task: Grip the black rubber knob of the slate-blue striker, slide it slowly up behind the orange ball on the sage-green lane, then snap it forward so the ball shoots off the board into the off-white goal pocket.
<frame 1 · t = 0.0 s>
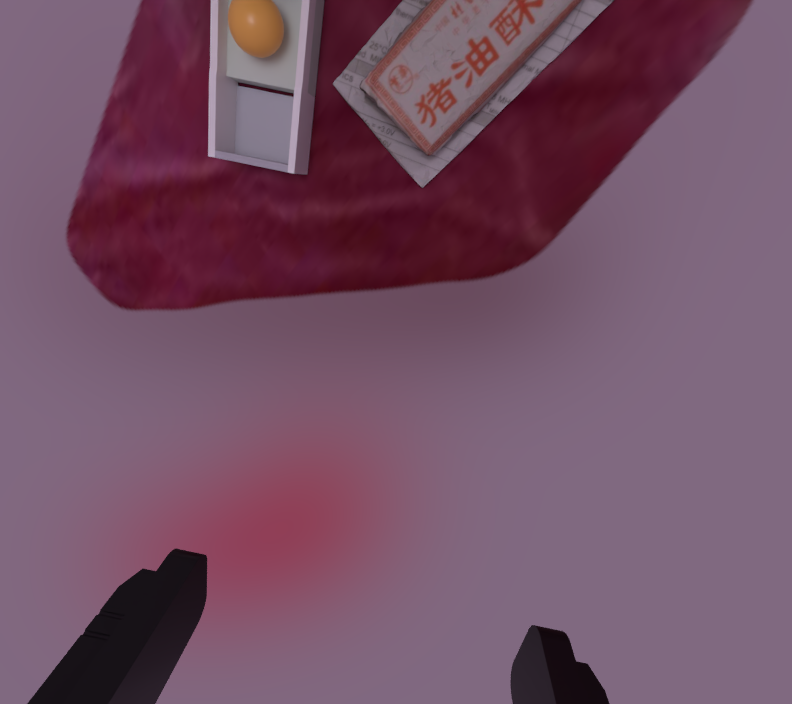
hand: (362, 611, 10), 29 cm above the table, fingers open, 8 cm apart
packaged product: (468, 46, 31), on the table
ball: (256, 25, 27), point 4 cm above the table, touching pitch
goal: (270, 129, 33), on the table
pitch: (277, 22, 30), on the table
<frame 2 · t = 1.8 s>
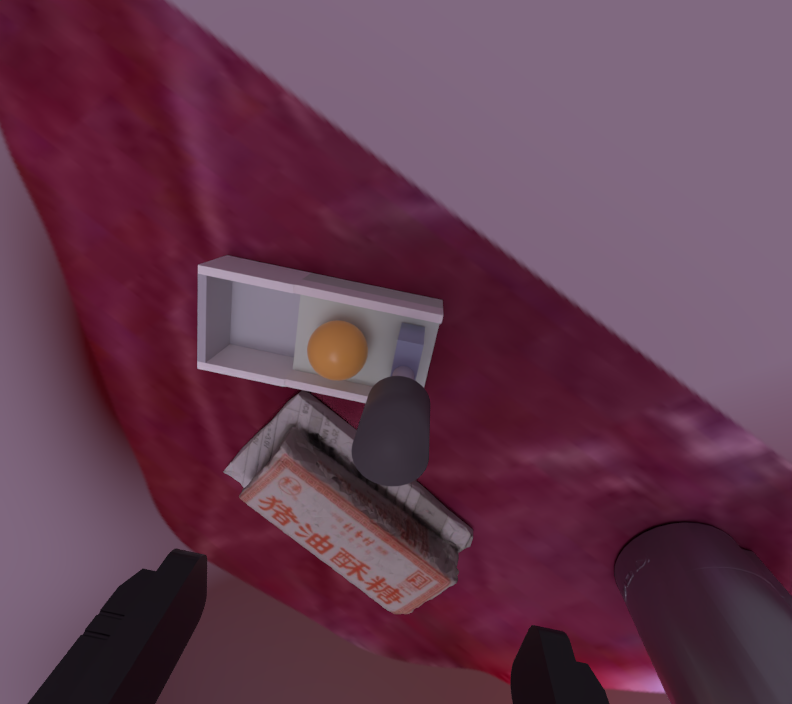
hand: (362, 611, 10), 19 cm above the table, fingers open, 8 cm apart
packaged product: (354, 492, 34), on the table
ball: (337, 350, 24), point 4 cm above the table, touching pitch
goal: (265, 312, 28), on the table
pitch: (368, 333, 28), on the table
striker: (400, 393, 21), point 7 cm above the table, slide at 0.0 cm
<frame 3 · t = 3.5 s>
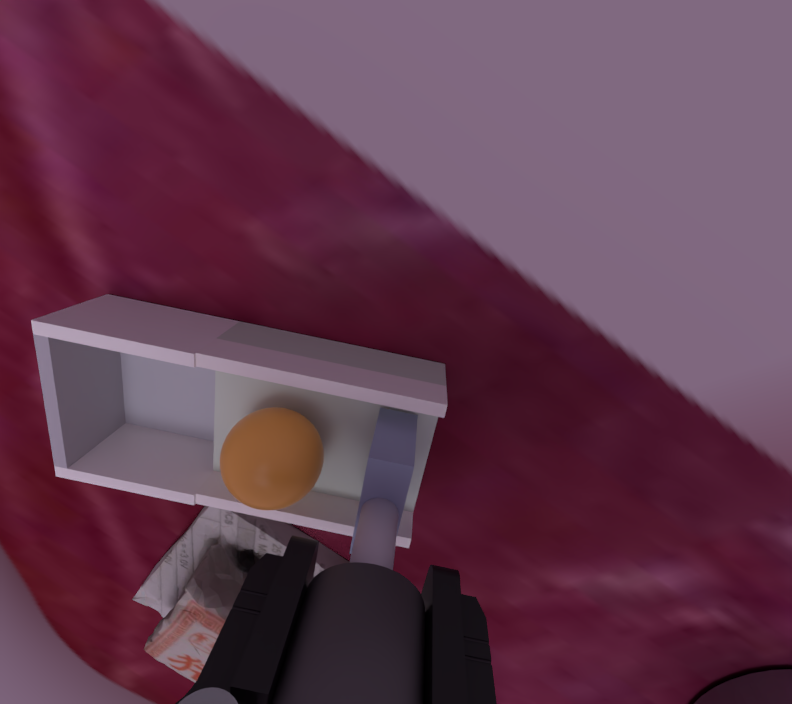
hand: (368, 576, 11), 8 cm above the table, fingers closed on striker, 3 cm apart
packaged product: (320, 610, 24), on the table
ball: (273, 457, 15), point 4 cm above the table, touching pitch
goal: (175, 378, 18), on the table
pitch: (332, 410, 18), on the table
striker: (370, 569, 11), point 7 cm above the table, slide at 0.0 cm, touching gripper
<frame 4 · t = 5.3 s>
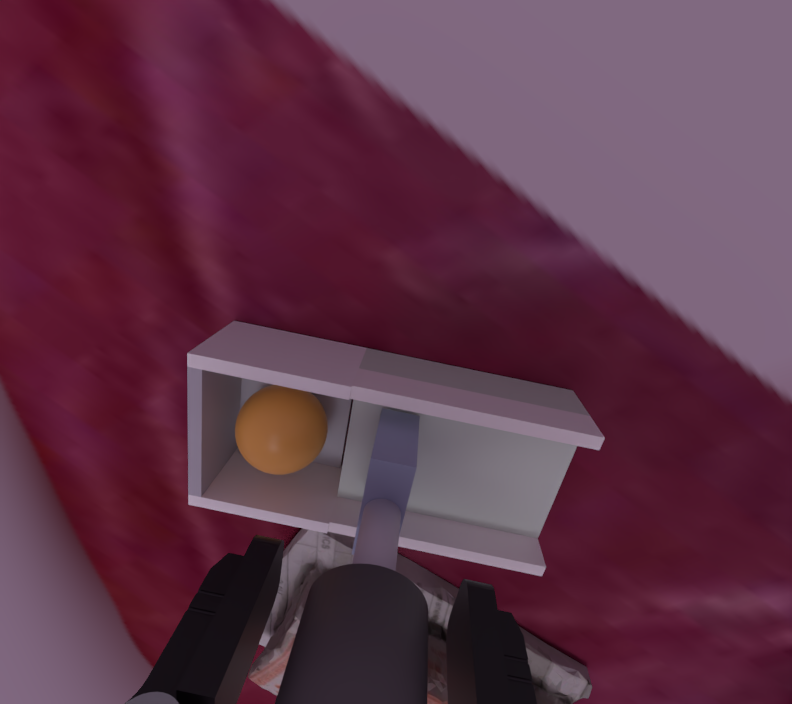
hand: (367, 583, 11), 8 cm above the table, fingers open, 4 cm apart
packaged product: (409, 628, 24), on the table
ball: (282, 428, 16), point 2 cm above the table, tilted 169°, touching goal
goal: (293, 403, 18), on the table
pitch: (450, 435, 18), on the table
striker: (373, 570, 11), point 7 cm above the table, slide at 5.2 cm
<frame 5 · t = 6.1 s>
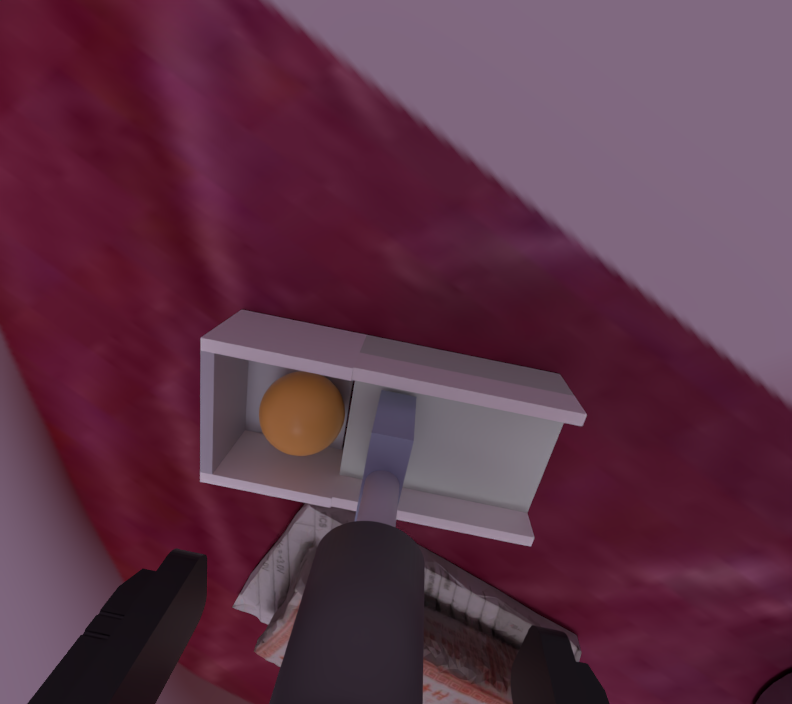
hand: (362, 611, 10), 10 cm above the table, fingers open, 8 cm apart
packaged product: (407, 604, 25), on the table
ball: (302, 413, 17), point 2 cm above the table, tilted 171°, touching goal
goal: (297, 387, 19), on the table
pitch: (446, 417, 19), on the table
striker: (374, 531, 12), point 7 cm above the table, slide at 5.2 cm
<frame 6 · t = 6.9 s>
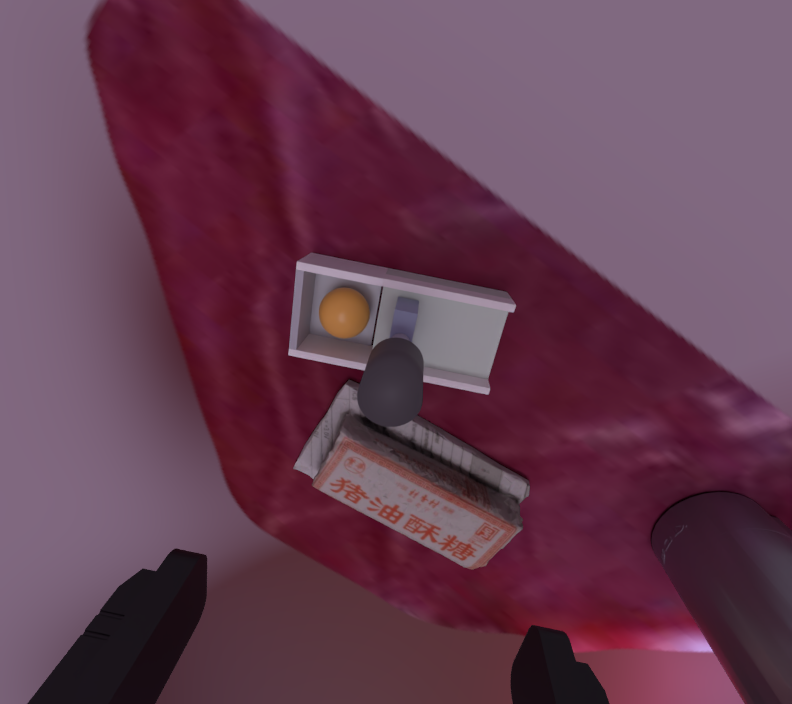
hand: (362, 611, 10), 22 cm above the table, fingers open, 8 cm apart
packaged product: (412, 466, 36), on the table
ball: (344, 313, 29), point 2 cm above the table, tilted 176°, touching goal
goal: (343, 304, 31), on the table
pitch: (437, 323, 31), on the table
striker: (397, 355, 24), point 7 cm above the table, slide at 5.2 cm
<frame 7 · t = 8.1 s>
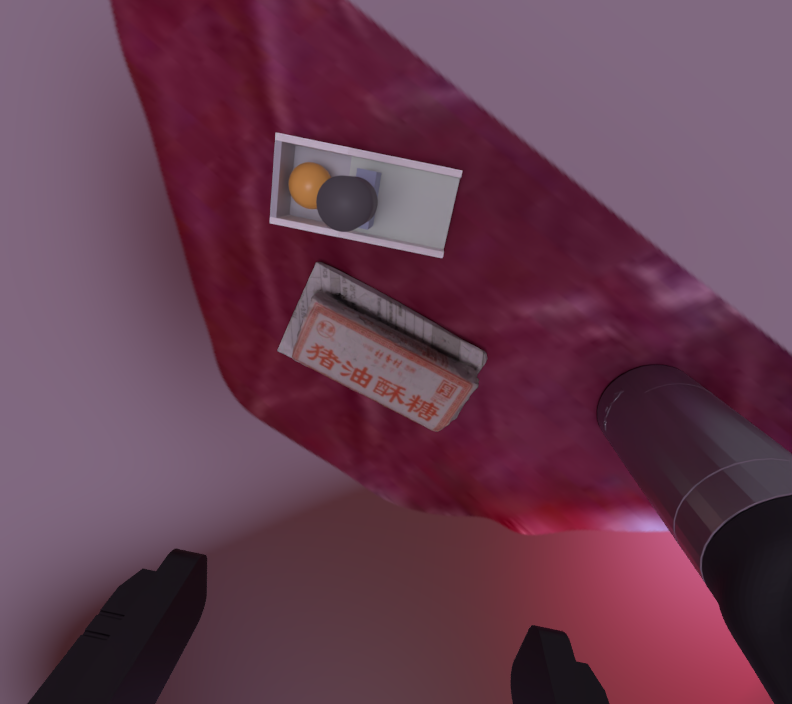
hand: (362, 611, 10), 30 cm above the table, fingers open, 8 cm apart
packaged product: (382, 347, 41), on the table
ball: (311, 186, 33), point 2 cm above the table, tilted 157°, touching goal
goal: (319, 186, 35), on the table
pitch: (400, 203, 35), on the table
striker: (357, 200, 28), point 7 cm above the table, slide at 5.2 cm
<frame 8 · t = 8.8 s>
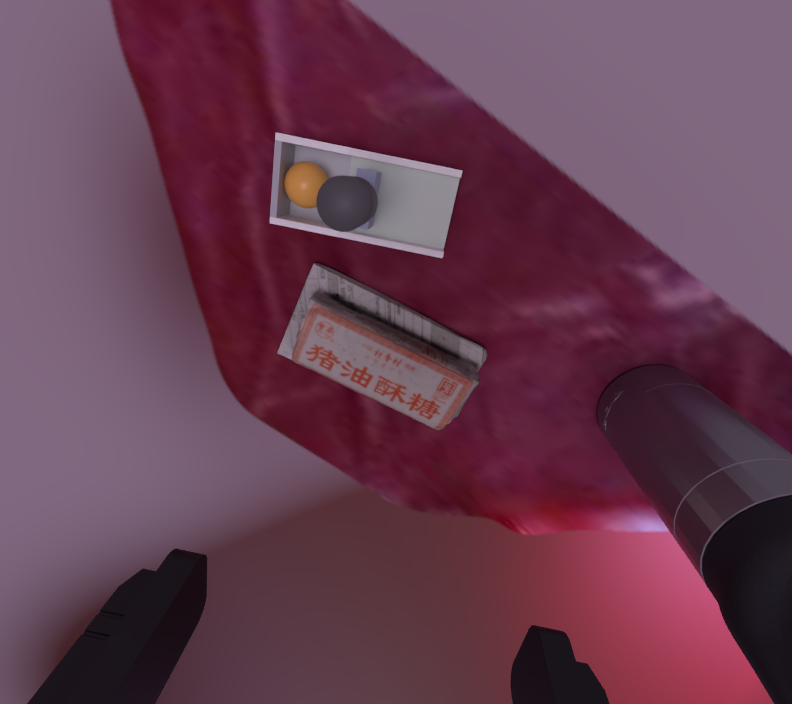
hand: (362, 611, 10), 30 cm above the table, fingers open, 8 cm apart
packaged product: (382, 346, 41), on the table
ball: (307, 185, 33), point 2 cm above the table, tilted 146°, touching goal
goal: (319, 186, 35), on the table
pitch: (400, 203, 35), on the table
striker: (357, 200, 28), point 7 cm above the table, slide at 5.2 cm
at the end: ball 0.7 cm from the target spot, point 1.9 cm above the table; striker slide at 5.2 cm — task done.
